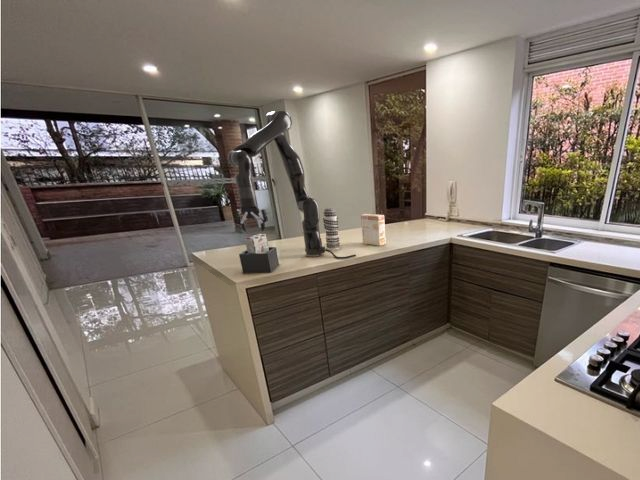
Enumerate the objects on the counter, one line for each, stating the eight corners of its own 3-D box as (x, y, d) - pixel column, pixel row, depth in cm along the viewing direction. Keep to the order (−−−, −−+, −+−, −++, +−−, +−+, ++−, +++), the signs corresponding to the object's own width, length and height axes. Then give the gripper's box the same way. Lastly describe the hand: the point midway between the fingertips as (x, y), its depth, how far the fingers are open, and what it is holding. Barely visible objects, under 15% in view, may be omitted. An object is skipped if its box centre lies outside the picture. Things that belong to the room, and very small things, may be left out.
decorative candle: (330, 246, 225) (326, 207, 214) (343, 247, 222) (339, 207, 212) (323, 249, 217) (318, 209, 206) (336, 250, 214) (332, 209, 204)
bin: (279, 264, 184) (276, 246, 180) (271, 272, 171) (267, 253, 167) (253, 265, 183) (249, 247, 179) (243, 273, 170) (238, 254, 166)
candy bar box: (264, 264, 182) (258, 233, 175) (272, 264, 181) (266, 233, 174) (250, 270, 172) (243, 237, 165) (259, 270, 171) (252, 238, 164)
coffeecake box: (385, 244, 231) (384, 214, 223) (379, 246, 225) (377, 216, 217) (369, 241, 238) (367, 213, 230) (362, 243, 233) (360, 214, 225)
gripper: (265, 195, 166) (271, 229, 173) (235, 196, 165) (242, 229, 171) (260, 197, 159) (266, 232, 166) (228, 197, 158) (236, 232, 165)
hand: (254, 230), depth 169 cm, fingers open, 8 cm apart
